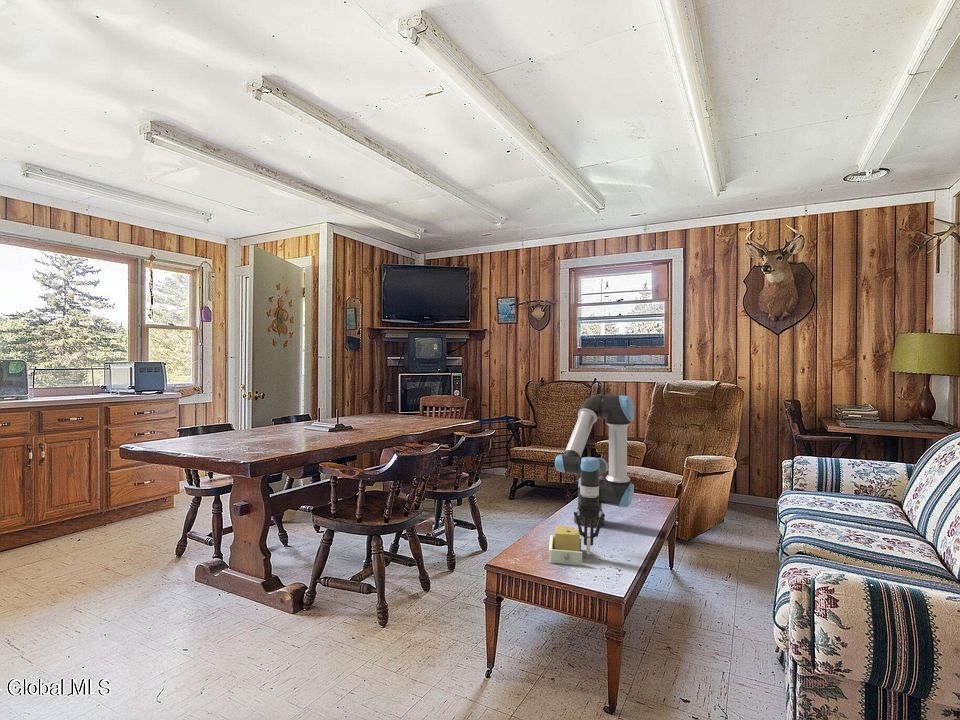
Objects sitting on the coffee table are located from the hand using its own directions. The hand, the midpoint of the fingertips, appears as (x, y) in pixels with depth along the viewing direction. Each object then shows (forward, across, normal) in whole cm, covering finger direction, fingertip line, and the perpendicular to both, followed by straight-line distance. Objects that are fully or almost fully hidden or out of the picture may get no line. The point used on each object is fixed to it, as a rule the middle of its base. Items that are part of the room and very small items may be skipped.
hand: (588, 552), depth 211 cm
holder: (+2, -9, 0) cm, 9 cm away
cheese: (+2, -8, +2) cm, 9 cm away
